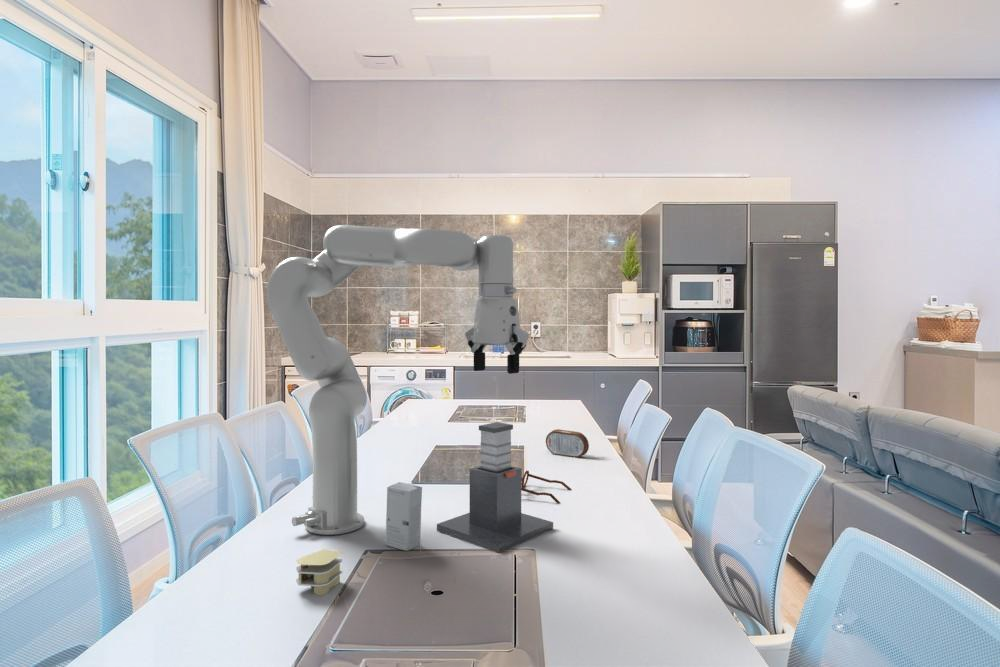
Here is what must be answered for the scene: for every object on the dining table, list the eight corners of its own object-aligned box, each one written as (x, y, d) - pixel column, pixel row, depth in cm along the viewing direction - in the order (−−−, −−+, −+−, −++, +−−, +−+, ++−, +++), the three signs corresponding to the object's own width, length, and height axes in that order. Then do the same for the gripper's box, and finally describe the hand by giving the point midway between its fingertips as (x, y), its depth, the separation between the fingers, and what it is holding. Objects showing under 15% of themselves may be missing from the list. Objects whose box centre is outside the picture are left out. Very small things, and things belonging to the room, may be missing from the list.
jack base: (498, 552, 119) (499, 485, 118) (436, 530, 130) (437, 469, 130) (553, 528, 132) (553, 468, 132) (492, 510, 144) (492, 454, 144)
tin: (589, 457, 199) (589, 432, 198) (585, 459, 196) (585, 434, 196) (548, 452, 207) (548, 427, 206) (544, 453, 204) (544, 429, 204)
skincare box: (384, 545, 122) (384, 486, 122) (398, 538, 126) (398, 481, 125) (408, 551, 119) (408, 491, 118) (422, 544, 123) (422, 485, 122)
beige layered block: (316, 573, 110) (316, 543, 109) (358, 581, 106) (358, 551, 106) (277, 597, 100) (277, 564, 100) (322, 607, 97) (321, 573, 97)
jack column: (494, 526, 127) (494, 428, 127) (478, 521, 131) (478, 425, 130) (512, 519, 132) (513, 424, 131) (496, 515, 135) (497, 422, 134)
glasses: (525, 486, 166) (525, 468, 166) (571, 491, 162) (571, 472, 162) (510, 499, 154) (510, 480, 154) (560, 505, 150) (560, 485, 150)
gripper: (538, 292, 128) (538, 373, 128) (478, 294, 139) (478, 368, 139) (516, 291, 122) (516, 375, 122) (455, 293, 133) (455, 370, 134)
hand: (495, 371), depth 131 cm, fingers open, 9 cm apart
